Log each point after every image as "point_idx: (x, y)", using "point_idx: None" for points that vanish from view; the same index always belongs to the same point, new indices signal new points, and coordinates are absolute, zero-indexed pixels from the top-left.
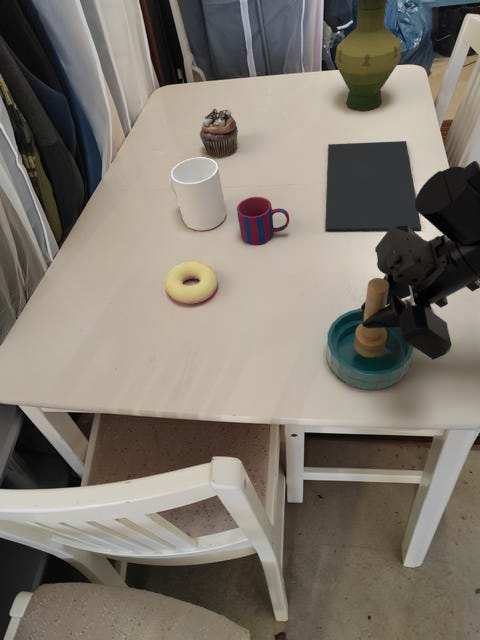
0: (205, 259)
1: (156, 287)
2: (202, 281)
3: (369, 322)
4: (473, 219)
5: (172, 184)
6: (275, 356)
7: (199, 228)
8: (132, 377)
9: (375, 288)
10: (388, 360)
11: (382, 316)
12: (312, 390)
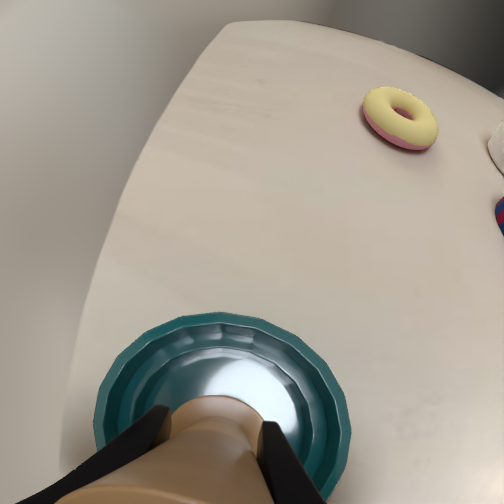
0: (451, 149)
1: None
2: (401, 116)
3: (128, 429)
4: None
5: None
6: (248, 223)
7: (491, 150)
8: (234, 69)
9: None
10: None
11: (56, 483)
12: (148, 286)
